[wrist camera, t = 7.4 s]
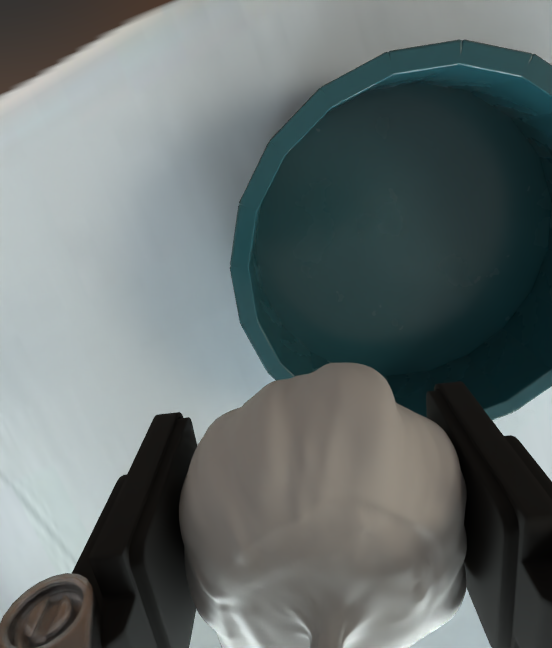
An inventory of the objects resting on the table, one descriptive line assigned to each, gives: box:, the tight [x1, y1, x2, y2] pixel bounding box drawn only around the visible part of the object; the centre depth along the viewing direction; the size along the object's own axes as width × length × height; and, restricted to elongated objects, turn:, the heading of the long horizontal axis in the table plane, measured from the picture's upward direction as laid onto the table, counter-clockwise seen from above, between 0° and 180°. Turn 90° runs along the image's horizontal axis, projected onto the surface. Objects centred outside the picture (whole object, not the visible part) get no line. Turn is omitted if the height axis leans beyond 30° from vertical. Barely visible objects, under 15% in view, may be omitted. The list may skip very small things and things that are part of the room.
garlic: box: [179, 363, 467, 648], centre depth 8 cm, size 6×5×5 cm
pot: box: [230, 40, 552, 420], centre depth 22 cm, size 17×17×6 cm
